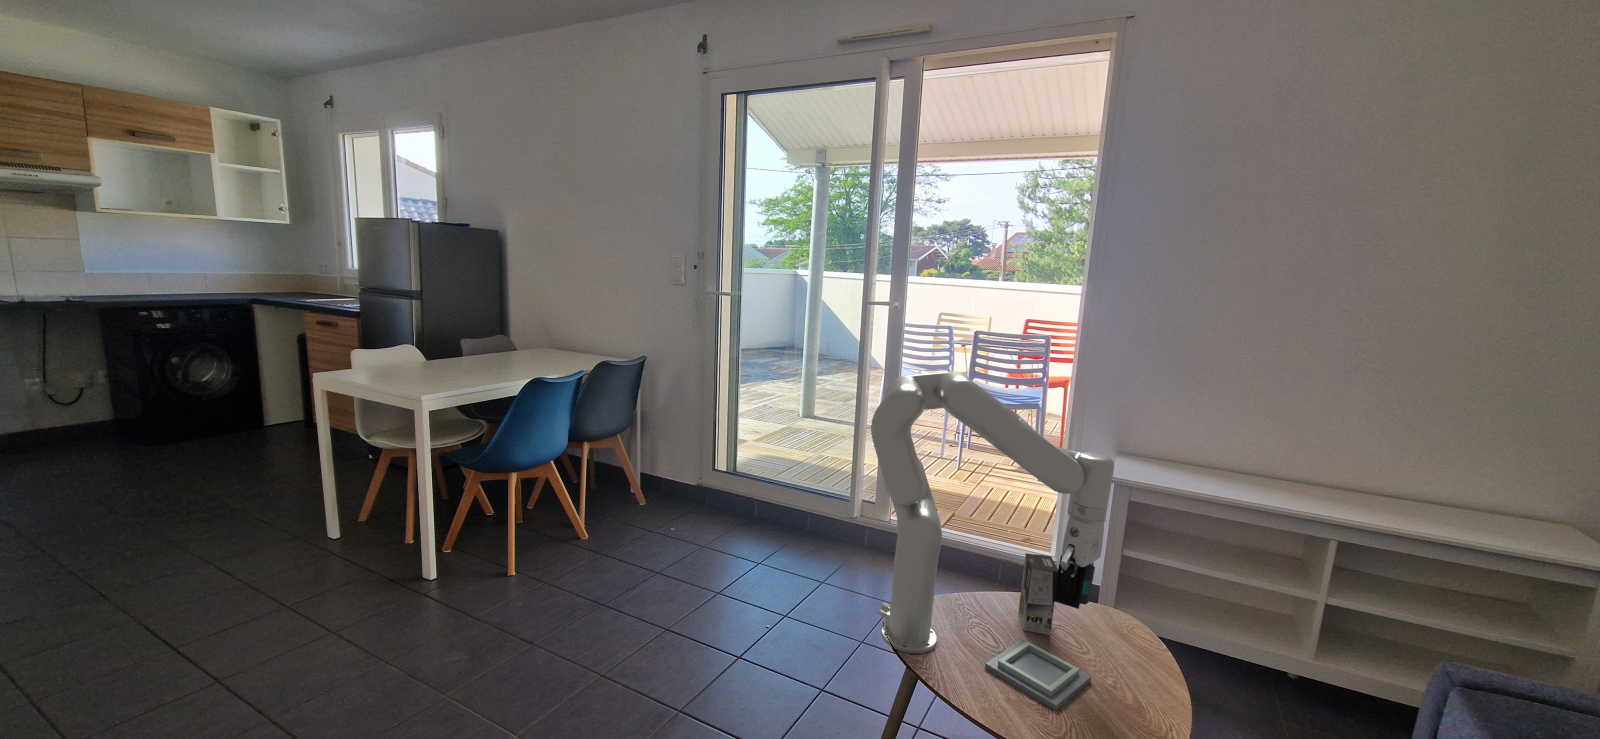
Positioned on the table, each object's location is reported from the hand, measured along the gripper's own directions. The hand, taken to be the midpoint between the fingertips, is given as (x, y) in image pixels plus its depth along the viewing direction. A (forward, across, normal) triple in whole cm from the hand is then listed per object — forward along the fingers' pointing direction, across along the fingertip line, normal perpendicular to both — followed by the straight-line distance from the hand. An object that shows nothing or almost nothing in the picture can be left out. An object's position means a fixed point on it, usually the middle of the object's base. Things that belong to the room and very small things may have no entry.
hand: (1074, 586), depth 136 cm
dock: (+17, -11, 0) cm, 20 cm away
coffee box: (+17, +8, +11) cm, 22 cm away
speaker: (+3, -1, 0) cm, 3 cm away
